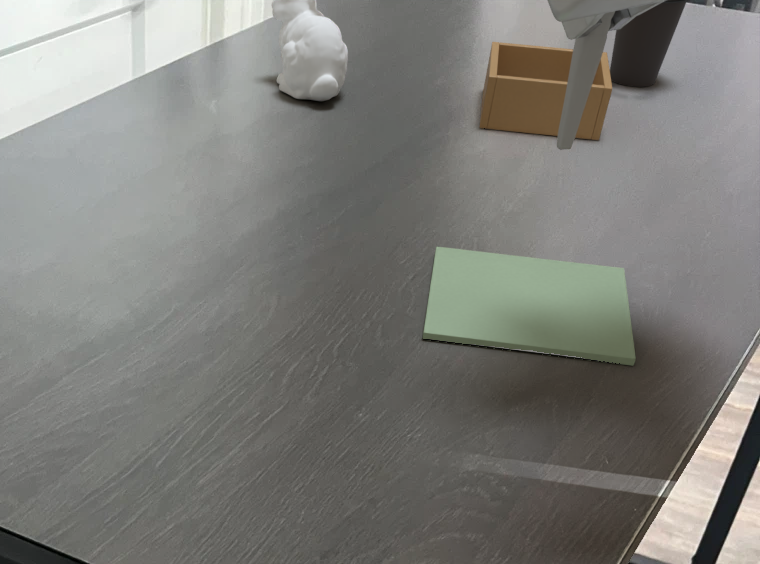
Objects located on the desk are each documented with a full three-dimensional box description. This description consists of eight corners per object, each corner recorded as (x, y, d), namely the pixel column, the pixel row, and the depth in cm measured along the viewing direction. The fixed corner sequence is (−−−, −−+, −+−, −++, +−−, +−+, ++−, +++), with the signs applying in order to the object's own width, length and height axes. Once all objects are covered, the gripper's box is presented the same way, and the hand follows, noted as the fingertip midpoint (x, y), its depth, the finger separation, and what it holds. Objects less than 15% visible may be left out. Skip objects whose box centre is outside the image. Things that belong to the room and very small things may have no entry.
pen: (586, 155, 80) (650, -79, 70) (552, 155, 80) (611, -79, 70) (572, 143, 82) (632, -87, 72) (539, 143, 81) (594, -88, 71)
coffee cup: (676, 78, 132) (706, -20, 124) (652, 95, 127) (681, -6, 120) (612, 64, 135) (637, -33, 128) (586, 80, 130) (610, -20, 123)
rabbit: (260, 76, 127) (267, -48, 118) (335, 71, 129) (347, -51, 121) (296, 112, 119) (306, -18, 111) (376, 106, 121) (392, -22, 113)
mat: (622, 274, 94) (624, 267, 94) (633, 366, 83) (635, 358, 83) (435, 253, 96) (436, 246, 95) (422, 339, 85) (423, 332, 84)
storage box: (594, 101, 125) (607, 52, 121) (598, 140, 116) (612, 88, 113) (483, 90, 126) (492, 41, 123) (479, 128, 118) (489, 76, 114)
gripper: (676, -54, 59) (501, 94, 71) (880, -90, 68) (693, 48, 80) (634, -173, 58) (465, -2, 70) (847, -193, 67) (663, -38, 79)
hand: (588, 24), depth 75 cm, fingers closed on pen, 2 cm apart
